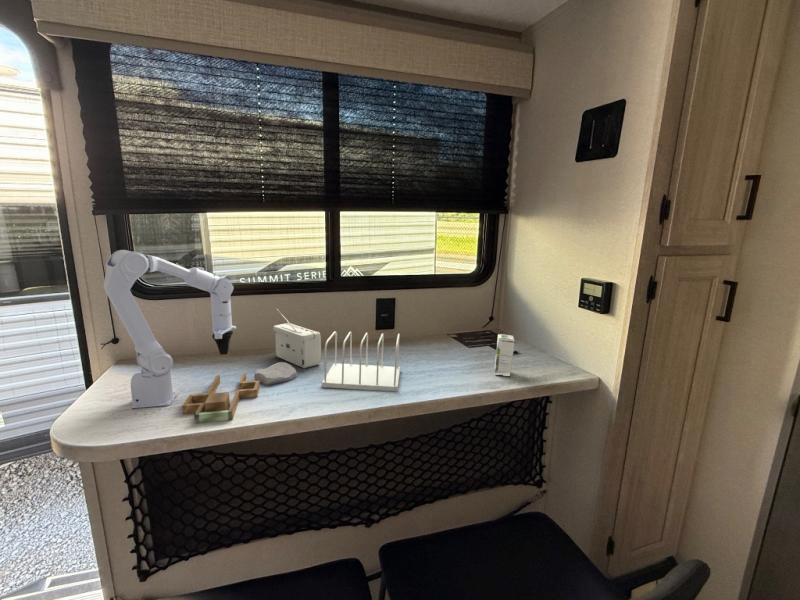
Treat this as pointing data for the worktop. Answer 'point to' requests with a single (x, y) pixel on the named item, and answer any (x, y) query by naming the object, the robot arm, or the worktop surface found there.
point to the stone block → (275, 373)
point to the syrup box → (504, 353)
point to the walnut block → (217, 402)
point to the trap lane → (198, 407)
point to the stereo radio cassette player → (297, 344)
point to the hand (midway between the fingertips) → (224, 353)
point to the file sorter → (362, 370)
